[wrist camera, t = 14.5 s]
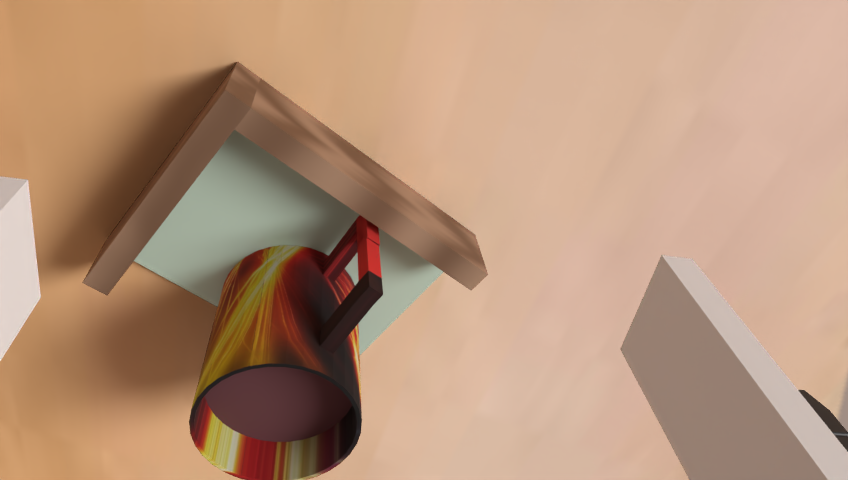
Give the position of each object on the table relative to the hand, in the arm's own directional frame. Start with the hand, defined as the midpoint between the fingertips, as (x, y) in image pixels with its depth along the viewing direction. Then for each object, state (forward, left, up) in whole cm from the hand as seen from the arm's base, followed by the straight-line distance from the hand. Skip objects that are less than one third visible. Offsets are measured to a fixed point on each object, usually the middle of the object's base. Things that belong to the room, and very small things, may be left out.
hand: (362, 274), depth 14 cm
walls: (+7, -15, -29) cm, 33 cm away
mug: (+9, -18, -28) cm, 35 cm away
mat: (+8, -16, -29) cm, 34 cm away
